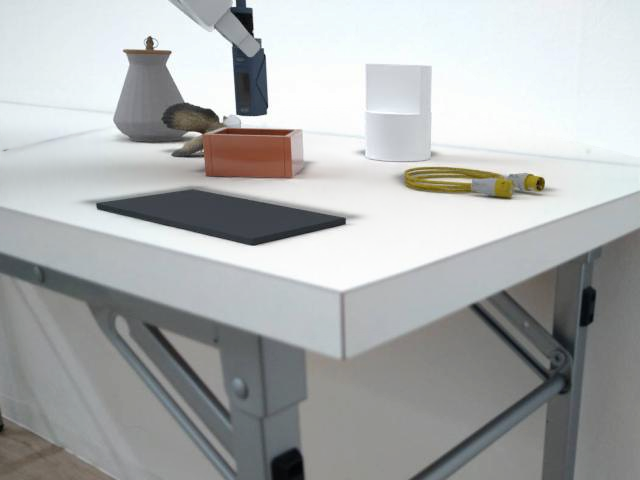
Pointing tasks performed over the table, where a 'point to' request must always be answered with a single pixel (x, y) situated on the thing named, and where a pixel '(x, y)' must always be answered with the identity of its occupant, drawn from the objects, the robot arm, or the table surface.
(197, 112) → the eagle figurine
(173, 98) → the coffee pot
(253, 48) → the robot arm
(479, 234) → the table surface
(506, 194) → the extension cord
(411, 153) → the base with upright slab
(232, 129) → the open box
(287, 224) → the mat
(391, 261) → the table surface
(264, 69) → the vaping device
